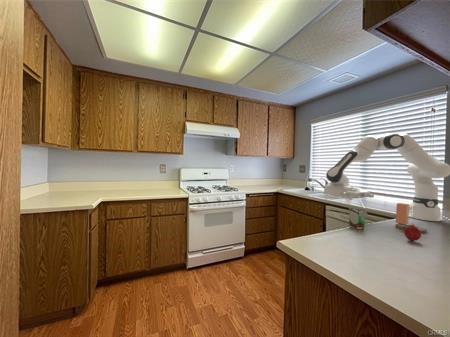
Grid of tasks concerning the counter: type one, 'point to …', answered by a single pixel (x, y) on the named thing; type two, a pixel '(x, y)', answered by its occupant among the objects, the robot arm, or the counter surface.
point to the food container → (357, 218)
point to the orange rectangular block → (402, 213)
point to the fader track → (422, 230)
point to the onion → (412, 233)
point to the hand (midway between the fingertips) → (373, 196)
